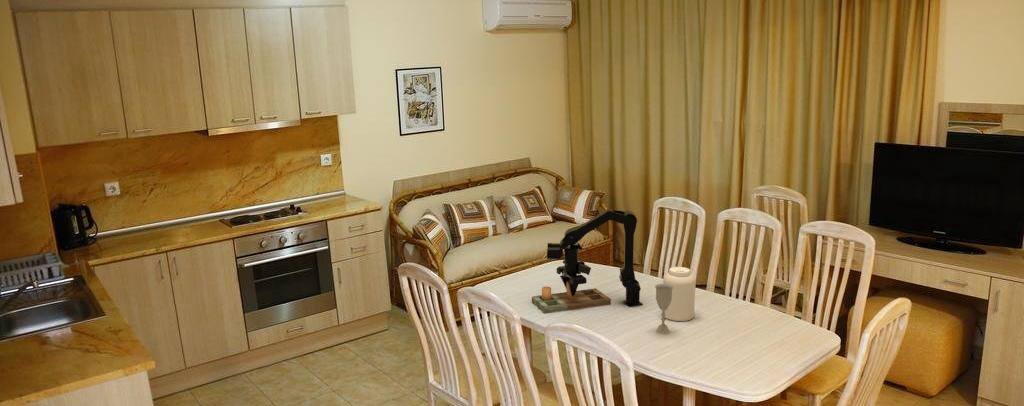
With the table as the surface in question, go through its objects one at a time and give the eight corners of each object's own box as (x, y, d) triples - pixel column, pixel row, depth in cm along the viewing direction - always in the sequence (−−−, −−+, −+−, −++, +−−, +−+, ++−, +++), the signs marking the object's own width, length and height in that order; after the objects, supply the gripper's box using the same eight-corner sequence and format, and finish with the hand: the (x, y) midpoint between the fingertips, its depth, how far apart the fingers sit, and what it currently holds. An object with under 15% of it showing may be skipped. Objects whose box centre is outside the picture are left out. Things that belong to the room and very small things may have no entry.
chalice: (659, 326, 292) (660, 282, 288) (675, 330, 288) (676, 285, 284) (650, 332, 287) (651, 287, 283) (666, 336, 282) (667, 290, 279)
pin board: (610, 304, 318) (610, 298, 317) (544, 313, 308) (544, 307, 308) (595, 293, 332) (595, 288, 331) (532, 302, 322) (532, 296, 322)
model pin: (552, 304, 319) (552, 288, 317) (543, 305, 317) (543, 290, 316) (549, 301, 322) (549, 286, 321) (540, 302, 321) (540, 287, 320)
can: (694, 322, 296) (696, 274, 292) (662, 320, 298) (663, 272, 294) (693, 311, 308) (695, 265, 304) (662, 310, 310) (663, 263, 306)
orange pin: (577, 298, 318) (577, 282, 317) (568, 299, 317) (568, 283, 315) (573, 295, 322) (573, 280, 320) (565, 296, 321) (565, 281, 319)
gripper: (598, 262, 310) (597, 298, 313) (579, 251, 327) (579, 285, 330) (573, 265, 306) (573, 302, 309) (556, 254, 323) (556, 288, 327)
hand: (571, 294), depth 319 cm, fingers closed on orange pin, 4 cm apart
